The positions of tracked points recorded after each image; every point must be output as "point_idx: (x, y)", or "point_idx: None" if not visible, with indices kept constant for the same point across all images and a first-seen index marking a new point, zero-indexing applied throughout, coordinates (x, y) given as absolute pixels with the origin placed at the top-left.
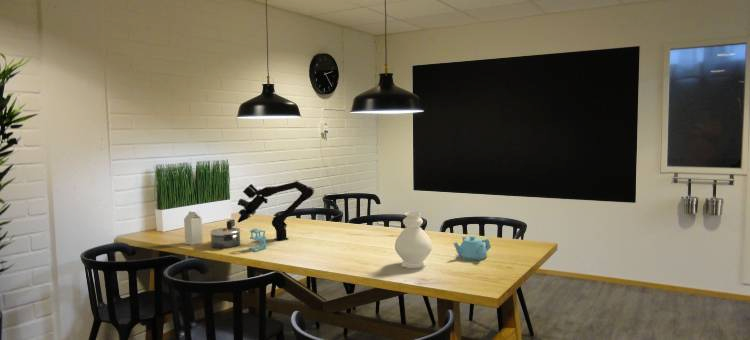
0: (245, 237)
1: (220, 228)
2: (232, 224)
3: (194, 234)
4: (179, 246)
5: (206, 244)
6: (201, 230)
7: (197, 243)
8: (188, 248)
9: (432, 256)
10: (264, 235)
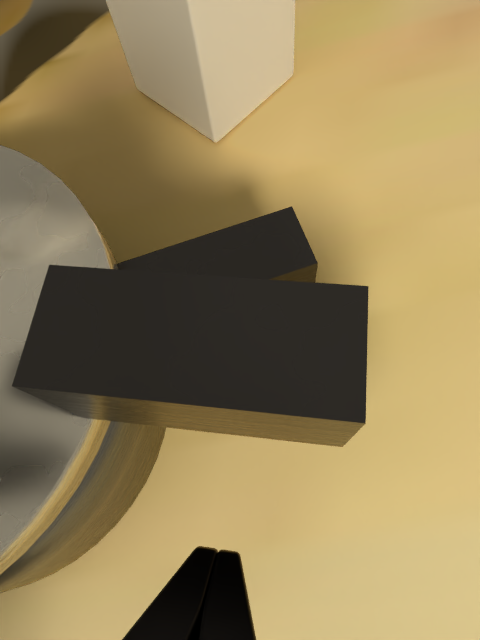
0: (466, 611)
1: (78, 226)
2: (137, 416)
3: (125, 6)
4: None
5: (137, 192)
6: (185, 15)
7: (172, 111)
8: (25, 95)
9: None
10: None
